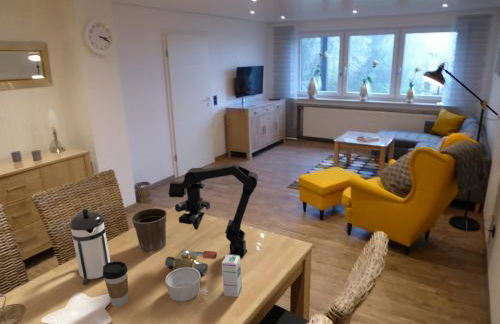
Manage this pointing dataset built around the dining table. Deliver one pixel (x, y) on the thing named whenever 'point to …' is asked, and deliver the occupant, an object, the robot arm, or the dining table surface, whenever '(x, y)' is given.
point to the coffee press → (90, 244)
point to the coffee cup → (116, 282)
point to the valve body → (186, 263)
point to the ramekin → (183, 284)
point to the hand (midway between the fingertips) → (196, 229)
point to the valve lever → (199, 254)
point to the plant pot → (150, 228)
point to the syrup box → (231, 275)
